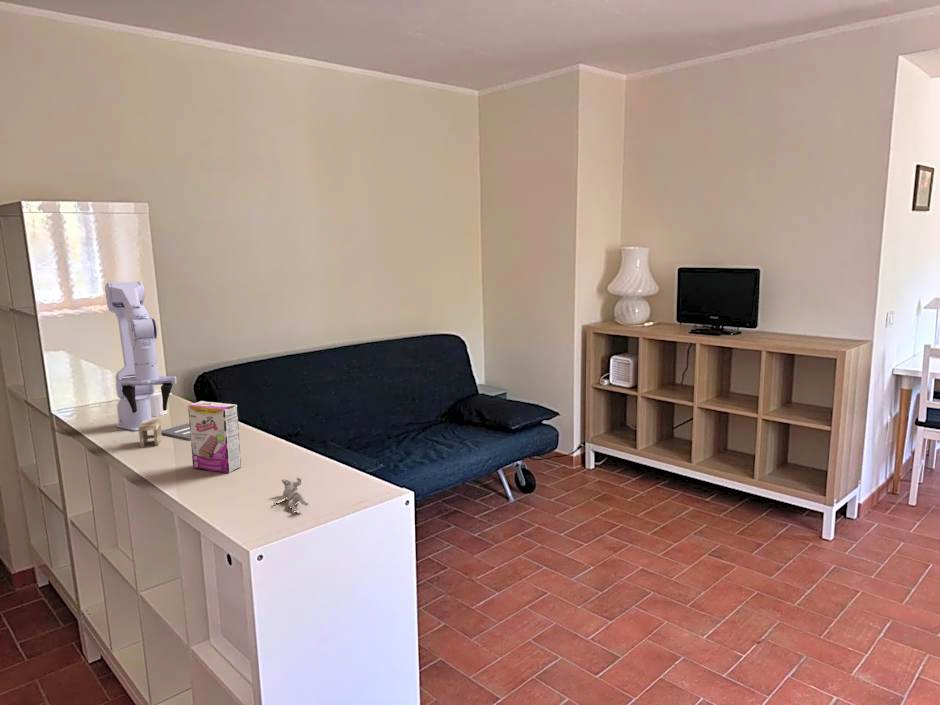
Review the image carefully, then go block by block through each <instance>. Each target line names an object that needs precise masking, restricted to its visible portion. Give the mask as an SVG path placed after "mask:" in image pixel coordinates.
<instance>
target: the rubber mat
mask: <svg viewBox="0 0 940 705" xmlns="http://www.w3.org/2000/svg"><path fill="white" fill-rule="evenodd" d="M161 434H162V436H168V437H172V438H177V439H182V440H186V441H191V434H190V423H184V424H180V425H177V426H174V427H170V428H166V429H163V430H162V429H161Z"/></svg>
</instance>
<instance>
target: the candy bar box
mask: <svg viewBox="0 0 940 705" xmlns="http://www.w3.org/2000/svg"><path fill="white" fill-rule="evenodd" d="M187 407H188V410H187V411H188V420H189V423H188V424H190V434H191V440H190V444H191V457H192V458H191V459H192V469H198V470H203V471H211V472H219V473H226V474H230V473H233V472H234V471H236V470H238V469H241V468H242V457H241V448H240V447H241V446H240V430H239V428H240V427H239V415H238V413H239V412H238V405H237V404H233V403H225V402H224V403H223V402H215V401H205V400H200V401H197V402H194V403H191V404H188V405H187Z"/></svg>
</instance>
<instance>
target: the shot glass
mask: <svg viewBox="0 0 940 705" xmlns="http://www.w3.org/2000/svg"><path fill="white" fill-rule="evenodd" d="M150 407H151V417H152V416H156V417H160V416H159V415H163V416H165V415H164V414H166V413H167V414H168V409H167V410H166V411H163V399H162V392H161V391H154V393H153V395H151V398H150ZM167 414H166V415H167Z"/></svg>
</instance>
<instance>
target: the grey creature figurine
mask: <svg viewBox="0 0 940 705" xmlns="http://www.w3.org/2000/svg"><path fill="white" fill-rule="evenodd" d="M281 482H282V484H283V485H284V489H283V492H282V497H281V498H280V499H278V500H275V501H273V504H274V505H275V503H276V502H278V501H280V500H282V499H284V498H286V497H287V498H286V499H287V500H288V503H287V506H289V507H291V508H293V509H290V510H291V512H292V513H293V512H294V511H297V510H298V508H297V506H296V505H295V504H296V503H297V502H298V501H299V502H300V504H301V505H305V506H308V505H309V502H308V501H307V500H306V498H305V497H304V495H303V494H302V493H300V492H299V489H298V487H299V486H301V485H302V478H301V477H298V476H297V477H296V481H295V480H294V479H289V478H287V479H286V478H282V479H281ZM299 502H298V503H299ZM289 507H288V508H289Z"/></svg>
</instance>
